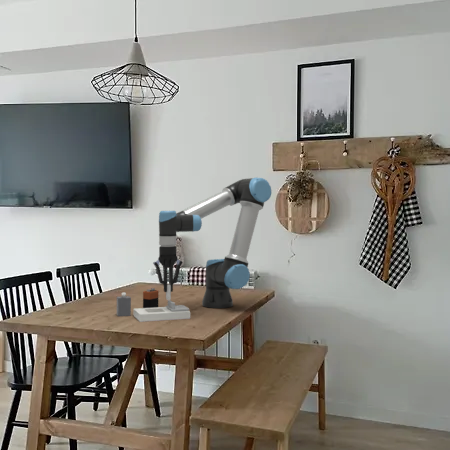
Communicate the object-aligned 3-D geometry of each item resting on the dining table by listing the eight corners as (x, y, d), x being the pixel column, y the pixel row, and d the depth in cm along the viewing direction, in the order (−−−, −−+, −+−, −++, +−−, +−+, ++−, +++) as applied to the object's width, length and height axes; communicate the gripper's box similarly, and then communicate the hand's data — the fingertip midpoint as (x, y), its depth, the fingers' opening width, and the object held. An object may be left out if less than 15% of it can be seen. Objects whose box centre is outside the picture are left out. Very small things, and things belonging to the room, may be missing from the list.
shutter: (182, 306, 235) (183, 299, 235) (189, 310, 225) (189, 302, 225) (165, 307, 232) (165, 299, 232) (171, 311, 223) (171, 303, 222)
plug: (128, 313, 232) (129, 291, 232) (130, 315, 228) (130, 293, 228) (116, 314, 230) (116, 292, 230) (118, 316, 226) (118, 293, 226)
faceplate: (181, 312, 237) (181, 306, 237) (190, 318, 224) (190, 311, 223) (133, 315, 229) (133, 308, 229) (139, 321, 216) (139, 314, 216)
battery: (158, 309, 244) (159, 288, 243) (150, 311, 238) (150, 290, 237) (151, 308, 246) (151, 287, 246) (142, 310, 240) (142, 289, 240)
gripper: (179, 244, 232) (180, 297, 233) (151, 245, 228) (151, 298, 228) (184, 245, 225) (185, 299, 226) (155, 246, 221) (155, 301, 221)
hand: (168, 299), depth 227 cm, fingers closed
